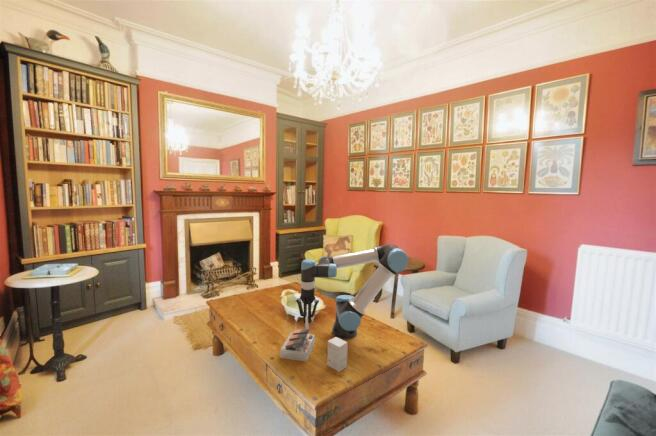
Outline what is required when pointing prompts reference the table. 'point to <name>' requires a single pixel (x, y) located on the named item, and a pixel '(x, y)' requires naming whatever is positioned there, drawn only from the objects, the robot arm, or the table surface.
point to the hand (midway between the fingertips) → (307, 328)
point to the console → (298, 349)
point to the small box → (337, 354)
